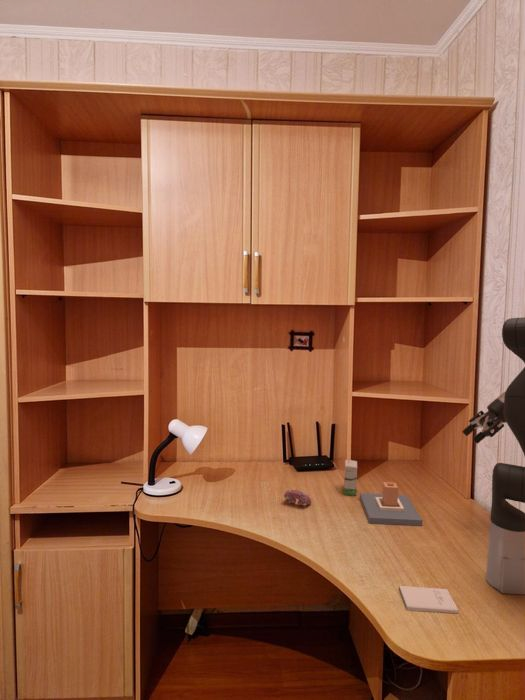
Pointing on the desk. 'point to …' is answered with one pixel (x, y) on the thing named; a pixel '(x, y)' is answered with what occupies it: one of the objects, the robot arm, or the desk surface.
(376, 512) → the board
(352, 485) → the ink box
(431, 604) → the external hard drive
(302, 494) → the purple lumpy oblong
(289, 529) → the desk surface
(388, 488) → the block
